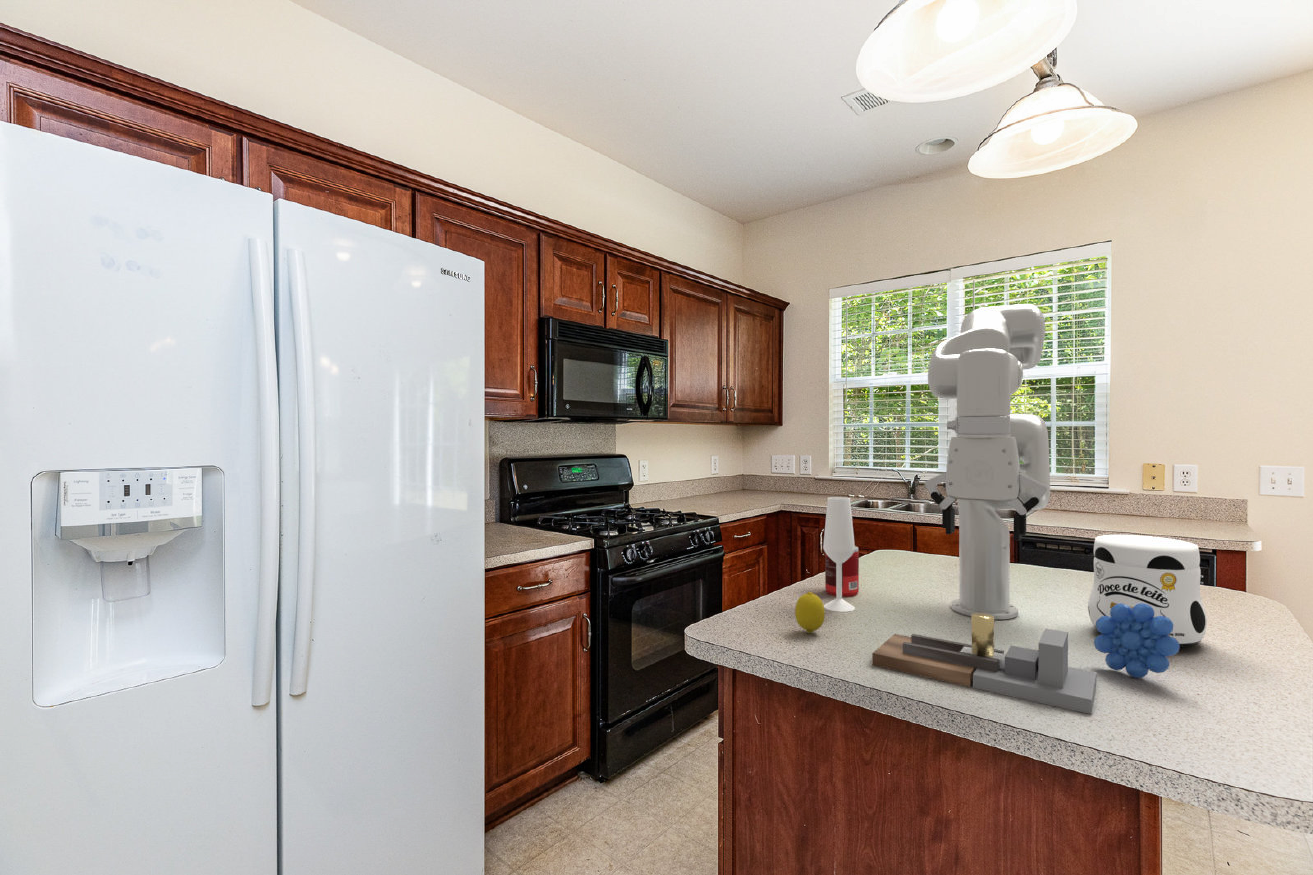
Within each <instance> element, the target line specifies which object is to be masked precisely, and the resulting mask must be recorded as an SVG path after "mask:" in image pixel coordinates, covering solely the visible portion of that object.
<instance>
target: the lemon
mask: <svg viewBox="0 0 1313 875" xmlns="http://www.w3.org/2000/svg"><path fill="white" fill-rule="evenodd" d="M824 605H825V604H824V602H823V601H822V599H821V598H820V597H819V596H818V595H817V594H814V593H813V592H812V591H807V593H804V594H802V595H800V597H798V599H797V601H796V603H795V608H794V609H795V610H794V614H795V620H796V623H797V624H798V625H799V627H800V628H801V629H803V630H805V631H806V632H807V633H808V634H812V633H814V631H816V630H818V629H820V628H821V627H822V625H823V624H824V622H825V616H826V615H825V613H826V611H825V610H826V609H825V608H824Z"/></svg>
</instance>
